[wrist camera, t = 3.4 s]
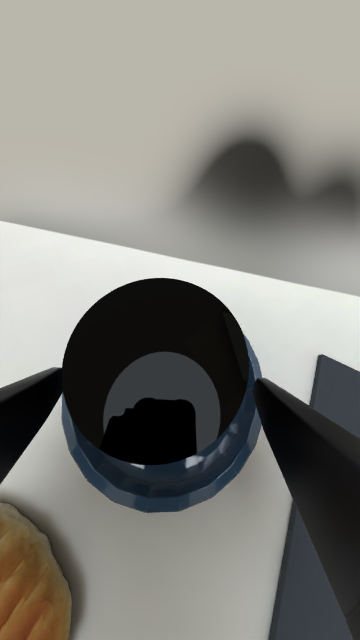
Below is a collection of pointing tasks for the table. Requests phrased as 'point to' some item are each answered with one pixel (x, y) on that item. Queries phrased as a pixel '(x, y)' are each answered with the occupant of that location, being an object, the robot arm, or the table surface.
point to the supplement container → (155, 371)
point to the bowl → (174, 478)
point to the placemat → (299, 556)
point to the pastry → (30, 583)
